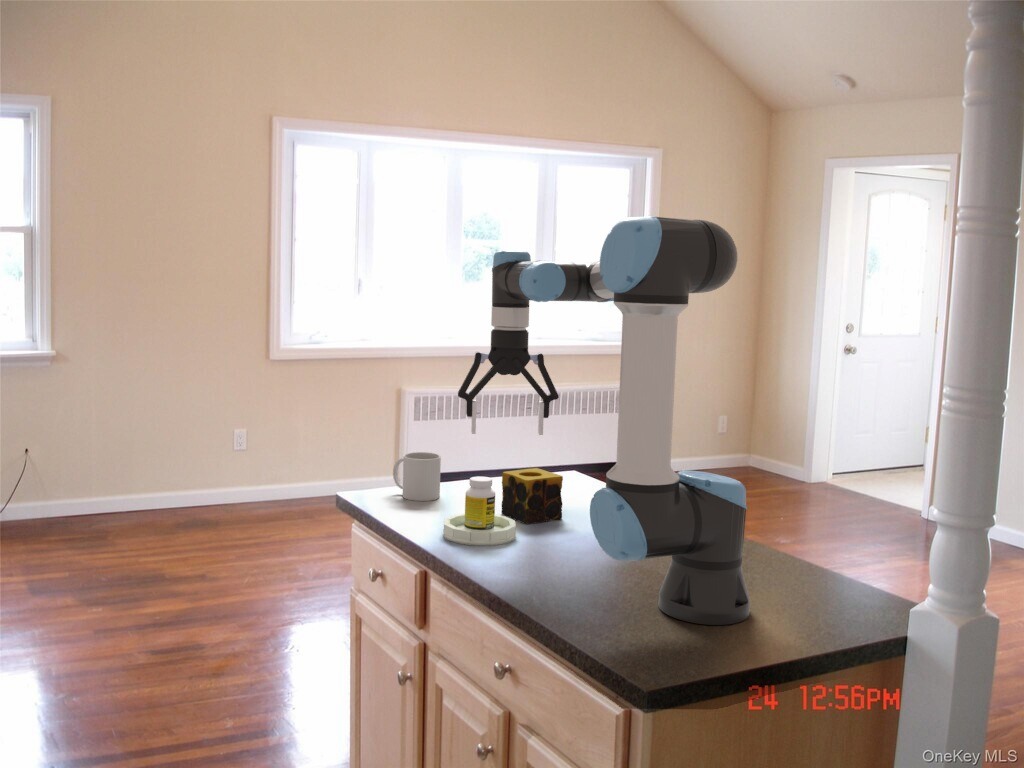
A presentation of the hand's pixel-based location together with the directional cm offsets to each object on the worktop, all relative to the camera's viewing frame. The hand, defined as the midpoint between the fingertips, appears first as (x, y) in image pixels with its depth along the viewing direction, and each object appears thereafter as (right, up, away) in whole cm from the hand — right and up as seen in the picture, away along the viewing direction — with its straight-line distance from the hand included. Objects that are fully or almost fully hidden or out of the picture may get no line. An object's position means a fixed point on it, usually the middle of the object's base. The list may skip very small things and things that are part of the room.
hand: (507, 433), depth 204 cm
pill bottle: (-6, -21, +5) cm, 22 cm away
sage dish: (-6, -21, +6) cm, 23 cm away
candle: (+5, -20, +22) cm, 30 cm away
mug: (-22, -17, +37) cm, 46 cm away
